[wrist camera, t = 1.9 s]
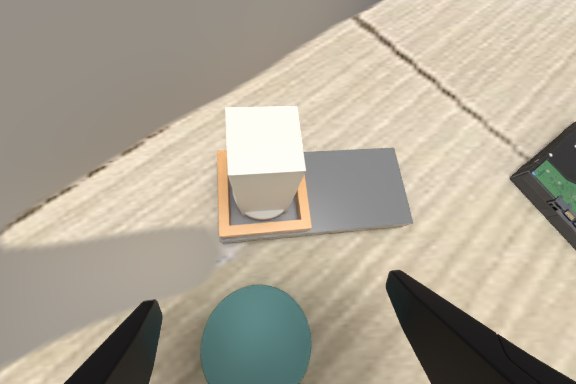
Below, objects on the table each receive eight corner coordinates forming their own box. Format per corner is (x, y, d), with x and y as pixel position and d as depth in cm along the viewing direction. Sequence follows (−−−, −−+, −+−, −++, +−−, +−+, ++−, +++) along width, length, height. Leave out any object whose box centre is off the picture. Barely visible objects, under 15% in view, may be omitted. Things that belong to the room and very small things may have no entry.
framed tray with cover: (223, 243, 23) (216, 239, 19) (220, 164, 25) (214, 148, 22) (401, 226, 25) (423, 220, 22) (384, 156, 27) (401, 140, 24)
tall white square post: (235, 223, 21) (215, 187, 12) (233, 169, 23) (213, 98, 13) (293, 218, 22) (318, 181, 13) (287, 166, 24) (306, 96, 14)
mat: (277, 430, 19) (277, 435, 18) (179, 369, 19) (177, 372, 19) (326, 317, 22) (328, 318, 21) (240, 266, 22) (240, 266, 22)
